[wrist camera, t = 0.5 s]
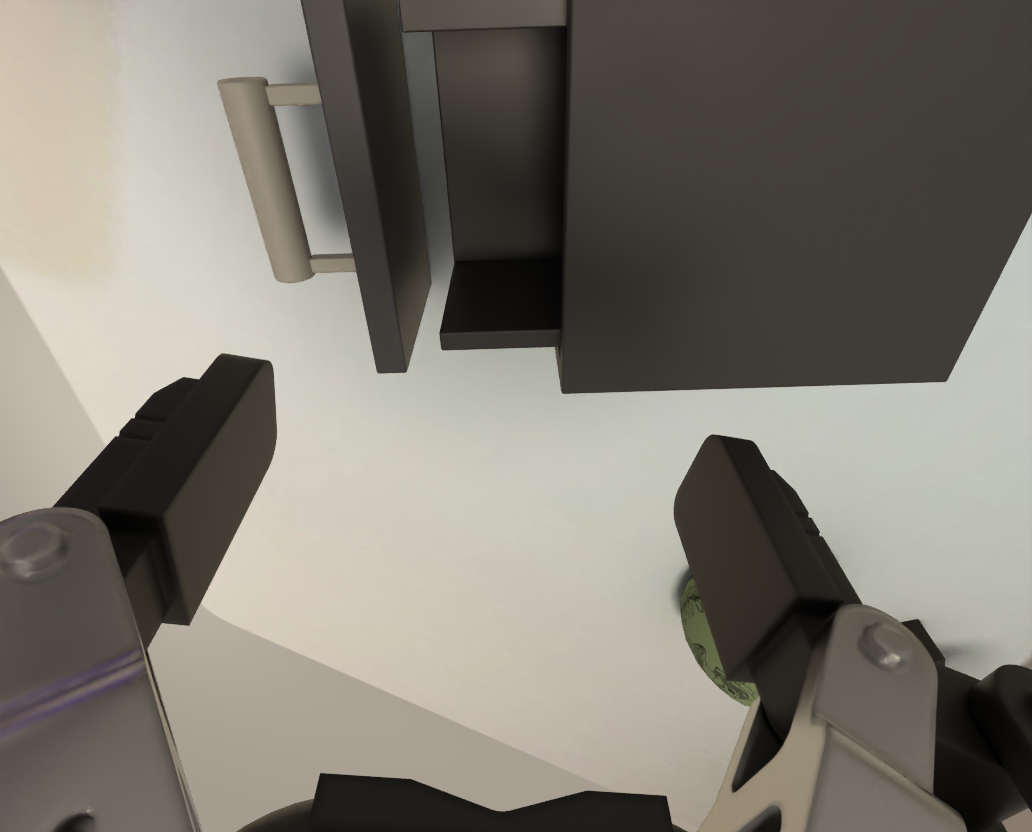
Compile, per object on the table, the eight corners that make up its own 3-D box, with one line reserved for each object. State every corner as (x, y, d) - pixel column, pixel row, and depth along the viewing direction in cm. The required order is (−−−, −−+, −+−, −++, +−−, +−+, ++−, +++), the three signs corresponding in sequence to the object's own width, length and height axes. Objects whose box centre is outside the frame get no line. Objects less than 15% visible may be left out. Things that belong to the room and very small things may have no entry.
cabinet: (545, 283, 30) (561, 394, 21) (546, -47, 22) (572, -84, 13) (819, 274, 30) (947, 382, 21) (921, -61, 22) (1195, -107, 13)
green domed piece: (649, 565, 44) (676, 669, 37) (816, 507, 41) (881, 611, 34) (710, 660, 52) (741, 761, 45) (853, 620, 49) (911, 722, 42)
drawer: (326, 287, 29) (268, 377, 22) (253, -18, 22) (127, -33, 14) (669, 276, 29) (723, 363, 22) (712, -35, 22) (815, -58, 14)
